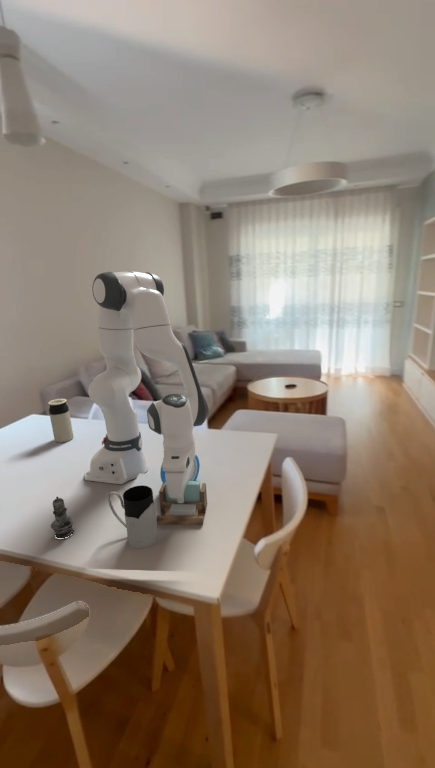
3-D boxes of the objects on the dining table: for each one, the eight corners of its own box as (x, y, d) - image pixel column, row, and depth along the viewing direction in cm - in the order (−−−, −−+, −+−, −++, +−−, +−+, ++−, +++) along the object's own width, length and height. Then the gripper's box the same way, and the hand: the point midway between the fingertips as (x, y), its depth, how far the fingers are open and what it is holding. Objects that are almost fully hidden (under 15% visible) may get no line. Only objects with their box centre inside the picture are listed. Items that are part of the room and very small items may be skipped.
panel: (167, 509, 112) (164, 484, 109) (168, 506, 114) (166, 481, 111) (200, 510, 111) (198, 484, 108) (201, 506, 112) (199, 481, 110)
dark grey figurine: (57, 528, 109) (49, 491, 105) (77, 526, 109) (71, 489, 106) (50, 541, 103) (42, 503, 100) (72, 539, 104) (64, 501, 100)
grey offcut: (169, 515, 106) (169, 510, 106) (172, 509, 109) (171, 504, 109) (194, 516, 106) (194, 511, 105) (196, 509, 109) (195, 504, 108)
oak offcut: (165, 520, 107) (164, 515, 106) (167, 513, 110) (167, 508, 109) (196, 521, 106) (196, 516, 105) (198, 514, 109) (197, 509, 109)
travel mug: (69, 442, 166) (62, 403, 161) (51, 443, 166) (44, 404, 161) (76, 435, 173) (69, 397, 168) (59, 435, 174) (52, 398, 168)
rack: (157, 528, 106) (154, 501, 104) (165, 507, 116) (163, 482, 113) (203, 529, 105) (201, 502, 102) (207, 507, 114) (205, 482, 112)
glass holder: (148, 557, 95) (142, 506, 91) (103, 544, 101) (95, 495, 97) (166, 535, 103) (161, 487, 99) (124, 524, 109) (117, 478, 104)
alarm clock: (175, 500, 119) (171, 457, 115) (161, 494, 123) (156, 452, 119) (201, 481, 129) (198, 441, 125) (187, 476, 133) (184, 437, 128)
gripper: (176, 436, 117) (179, 475, 121) (160, 469, 98) (165, 515, 102) (196, 435, 117) (199, 475, 120) (184, 469, 97) (188, 515, 101)
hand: (183, 494), depth 111 cm, fingers open, 6 cm apart
